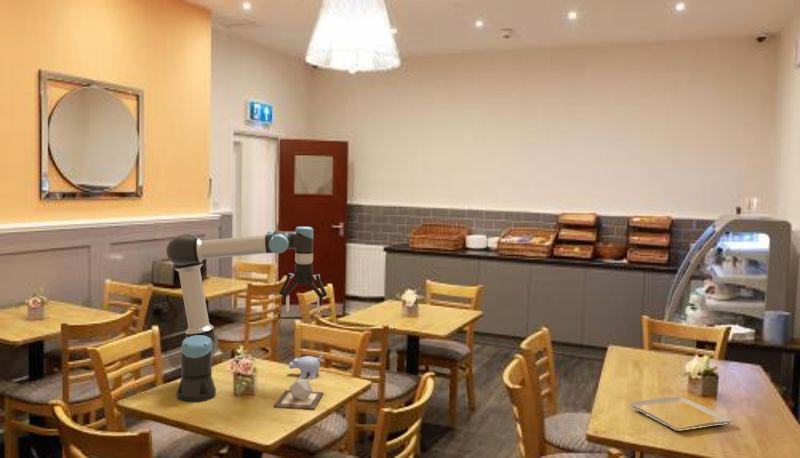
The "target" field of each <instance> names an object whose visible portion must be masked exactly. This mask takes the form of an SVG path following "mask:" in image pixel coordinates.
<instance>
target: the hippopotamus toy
mask: <svg viewBox="0 0 800 458" xmlns="http://www.w3.org/2000/svg"><path fill="white" fill-rule="evenodd" d="M323 356H324V355H323V354H320V356H319V357H315V356H312V355H311V356H310V355H306V356H302V357H296V358H294V359H293V360H292V361H290V362H289V363H288V368H289V369H291V370H294V369H299V370H300V375H299V377H298V378H300V379H307V380H310V379H311V380H315V379H317V374H319V369H320V367H321V363H320V362H321V360H322V357H323ZM308 374H309V375H308Z"/></svg>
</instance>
